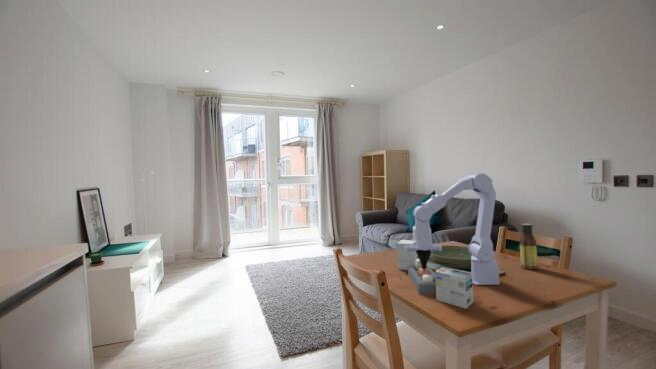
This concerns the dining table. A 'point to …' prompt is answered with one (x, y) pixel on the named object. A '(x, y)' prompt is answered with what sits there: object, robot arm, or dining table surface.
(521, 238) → the sauce bottle
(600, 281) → the dining table surface
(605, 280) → the dining table surface
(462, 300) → the light bulb box
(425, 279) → the plug cream
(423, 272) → the plug rust
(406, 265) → the supplement box
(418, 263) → the plug sage
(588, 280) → the dining table surface
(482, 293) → the dining table surface
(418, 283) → the socket board
